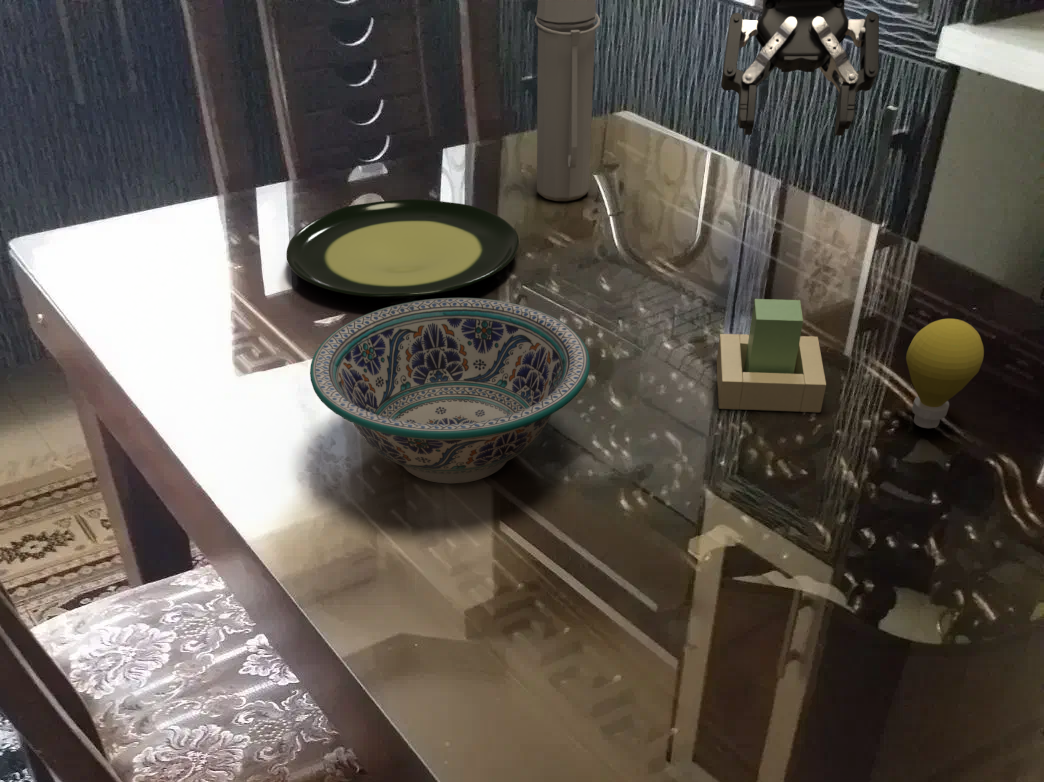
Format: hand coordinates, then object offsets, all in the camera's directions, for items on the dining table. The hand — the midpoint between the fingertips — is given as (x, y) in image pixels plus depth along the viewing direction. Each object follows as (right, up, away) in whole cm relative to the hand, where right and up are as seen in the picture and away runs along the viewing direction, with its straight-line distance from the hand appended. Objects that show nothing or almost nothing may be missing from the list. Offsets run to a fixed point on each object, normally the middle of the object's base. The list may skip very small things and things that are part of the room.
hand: (794, 131), depth 109 cm
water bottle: (-19, +15, +44) cm, 50 cm away
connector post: (-1, -22, +8) cm, 23 cm away
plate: (-39, 0, +30) cm, 50 cm away
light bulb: (+13, -27, +2) cm, 30 cm away
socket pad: (-1, -22, +8) cm, 23 cm away
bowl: (-32, -31, 0) cm, 45 cm away
